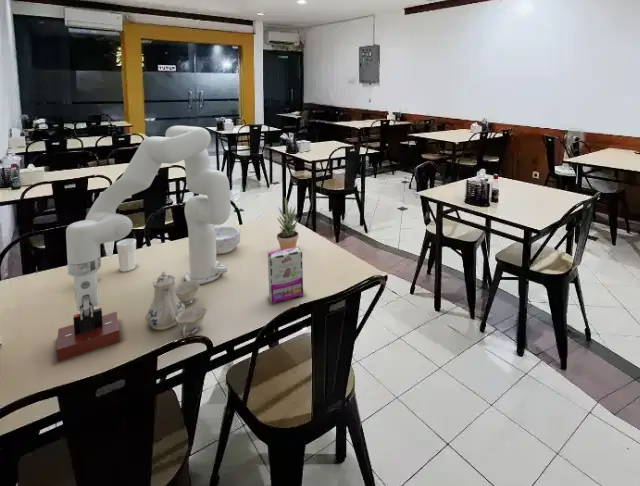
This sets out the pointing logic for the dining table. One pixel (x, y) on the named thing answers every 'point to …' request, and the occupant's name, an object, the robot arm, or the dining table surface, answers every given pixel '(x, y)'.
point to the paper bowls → (226, 239)
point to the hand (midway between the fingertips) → (87, 322)
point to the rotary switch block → (87, 338)
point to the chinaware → (174, 305)
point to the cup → (126, 254)
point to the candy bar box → (285, 274)
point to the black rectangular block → (97, 320)
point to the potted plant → (287, 229)
